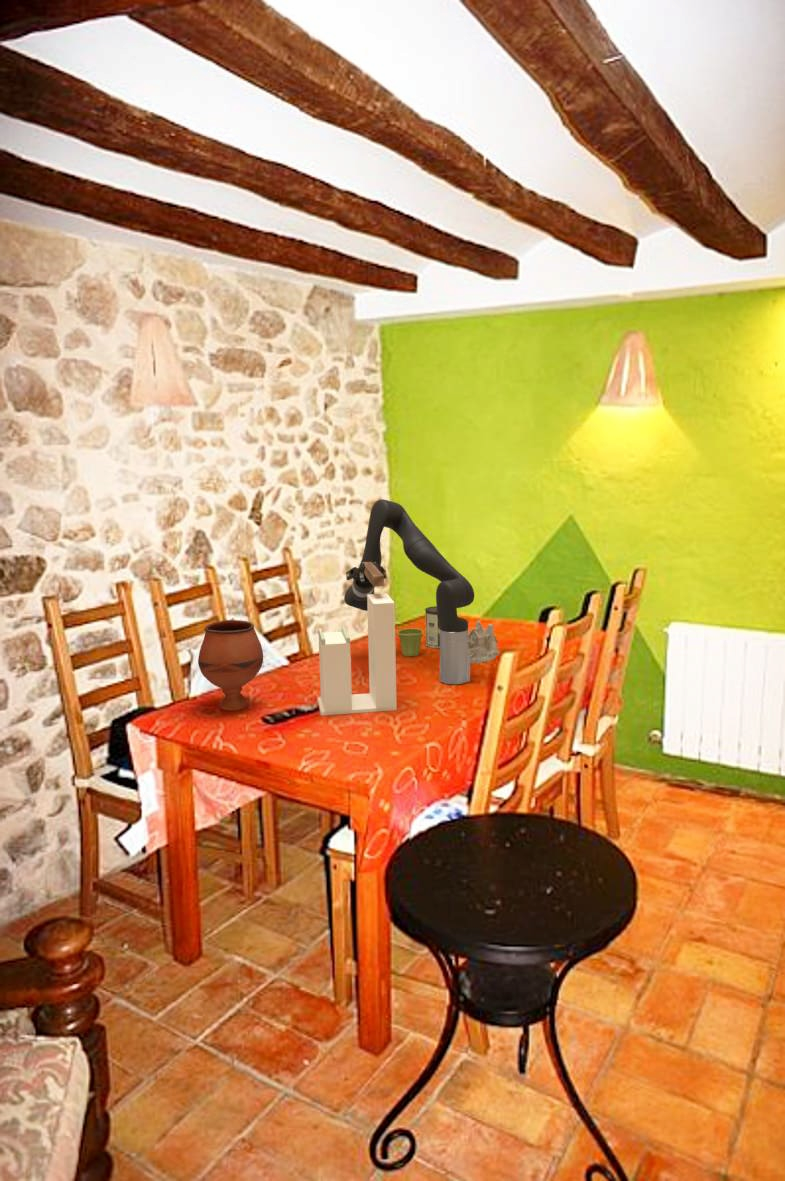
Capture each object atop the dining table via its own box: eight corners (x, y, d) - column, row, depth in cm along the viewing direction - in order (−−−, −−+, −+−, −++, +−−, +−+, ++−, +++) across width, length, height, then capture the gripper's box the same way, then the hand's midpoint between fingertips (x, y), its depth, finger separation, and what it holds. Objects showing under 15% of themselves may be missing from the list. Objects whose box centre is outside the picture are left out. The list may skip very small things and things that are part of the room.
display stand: (389, 695, 248) (386, 593, 242) (396, 710, 234) (394, 602, 228) (317, 700, 245) (313, 597, 238) (321, 715, 231) (316, 606, 225)
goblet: (214, 721, 228) (208, 636, 223) (192, 703, 244) (187, 623, 239) (276, 708, 238) (272, 626, 233) (251, 691, 254) (247, 614, 249)
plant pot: (413, 659, 286) (413, 636, 285) (392, 655, 292) (392, 632, 290) (428, 653, 294) (428, 630, 292) (407, 649, 299) (407, 627, 298)
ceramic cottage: (507, 657, 287) (504, 616, 284) (472, 667, 277) (469, 625, 275) (478, 651, 299) (475, 611, 297) (444, 660, 290) (440, 620, 288)
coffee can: (454, 642, 310) (454, 606, 307) (450, 648, 300) (450, 612, 297) (427, 641, 312) (427, 605, 309) (423, 648, 302) (423, 611, 299)
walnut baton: (371, 570, 259) (371, 561, 258) (384, 586, 234) (383, 576, 233) (362, 571, 259) (362, 562, 258) (373, 586, 233) (373, 576, 233)
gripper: (342, 573, 269) (346, 554, 252) (383, 571, 271) (390, 552, 255) (343, 594, 266) (348, 577, 250) (385, 592, 269) (392, 575, 252)
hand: (369, 565), depth 252 cm, fingers closed on walnut baton, 3 cm apart
